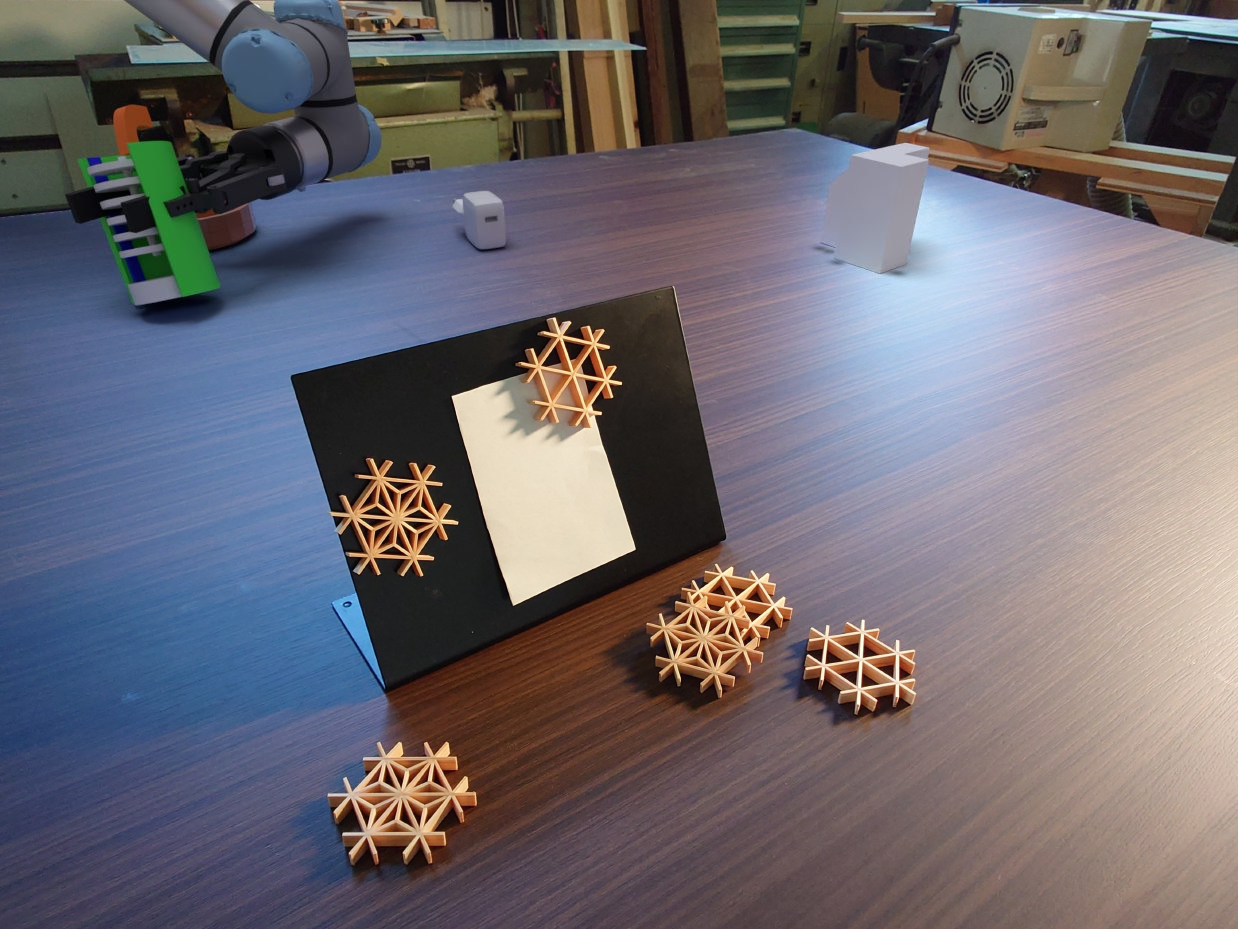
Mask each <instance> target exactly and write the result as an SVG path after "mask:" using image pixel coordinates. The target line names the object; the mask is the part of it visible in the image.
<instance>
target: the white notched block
mask: <svg viewBox="0 0 1238 929" xmlns="http://www.w3.org/2000/svg"><path fill="white" fill-rule="evenodd" d="M930 149H931V148H930V147H928V146H923V145H918V144H913V143H909V142H903V143H898V144H894V145H888V146H885V147H880V148H876V149H871V150H866V151H863V152H862V151H861V152H856V153H853V154H850V158H849V164H848V167H847V169H845V170H844V171H843V172H842V173H841V174H839V175H838V176H837V177H836V178H835V179H833V180H832V181H831V182H830V183H829V186H828V191H827V192H828V193H827V199H826V206H825V213H824V218H823V223H822V231H821V237H820V243H821V244H824V245H826V246H830V247H833V248H834V252H833V259H835V260H838V261H841V262H844V263H847V264H850V265H853V266H857V267H859V268H861V269H865V270H868V271H870V272H874V273H877V274H883V273H885V272H889V271H891V270H893V269H897V268H900V267H902V266H905V265H907V264H908V257H909V255H910V249H911V245H912V239H913V237H914V231H915V226H916V222H917V216H918V213H919V212H918V211H919V209H920V204H921V199H922V195H923V190H924V185H925V181H926V177H927V172H928V167H929V163H930V159H929V155H930V151H931V150H930Z"/></svg>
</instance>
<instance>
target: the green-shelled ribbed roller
mask: <svg viewBox="0 0 1238 929" xmlns="http://www.w3.org/2000/svg"><path fill="white" fill-rule="evenodd" d="M112 117H113V119H112V120H113V129H114V134H115V139H116V144H117V148H118V154H117V155H110V156H97V157H96V156H95V157H82V158H77V162H78V166H79V168H80V170H81V173H82V176H83V178H84V180H85V183H86V186H87V188H89V187H92V186H94V189H95V192H96V193H105V192H115V191H125V190H129V191H130V193H131V196H125V197H119V198H114V199H110V200H106V201H102V202H100V205H101V207H102V209H103V210H105V209H117V208H122V206H121V202H124V201H128V200H131V199H134V198H138V197H141V196H144V195H145V196H146V197H150V198H149V204H150V208H151V211H152V214H153V218H154V221H155V224H156V227H153V228H150V229H147V230H144V231H141V232H138V233H132V232H130V230H129V227H128V224H127V221H126V218H125V215H124V212H123V211H121V212H117V213H114V214H111V215H108V216H105V217H101V218H99V221H100V223H101V226H102V228H103V231H104V233H105V236H106V239H107V242H108V244H109V247H110V249H111V251H112V254H113V257H114V259H115V262H116V265H117V267H118V270H119V272H120V275H121V278H122V280H123V283H124V285H125V288H126V291H127V293H128V296H129V299H130V301H131V303H132V305H134V306H140V305H146V304H147V305H148V304H152V303H153V304H154V303H158V302H162V301H168V300H173V299H177V298H184V297H189V296H193V295H194V296H195V295H197V294H198V295H199V294H201V293H206V292H210V291H214V290H217V289H220V288H221V286H222V285H221V283H220V280H219V277H218V274H217V271H216V269H215V266H214V263H213V259H212V256H211V254H210V250H208V248H207V245H206V242H205V239H204V236H203V234H202V231H201V228H200V225H199V222H198V219H197V216H196V213H195V211H192V212H189V213H185V214H183V215H180V216H177V217H172V218H171V217H170V215H169V213H168V211H167V209H166V207H165V205H164V203H163V202H165V201H168V200H172V199H174V198H177V197H179V196H181V195H183V194H184V193H183V192H182V190H181V189H180V188H179V187H181V186H184V188H185V192H186V193H187V192H188V190H187V187H186V184H185V181H184V178H183V175H182V172H181V169H180V167H179V164H178V161H177V158H178V157H177V154H176V152H175V149H174V147H173V146H174V145H173V143H172V142H171V141H169V140H148V141H140V140H139V137H138V130H139V131H145V130H148V129H152V128H154V124H153V121H152V119H151V116H150V113H149V109H148V107H147V106H145V105H138V104H128V105H125V106H122V107H119V108H117V109H116V110H114V113H113V116H112ZM121 178H122V179H121Z"/></svg>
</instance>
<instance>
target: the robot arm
mask: <svg viewBox="0 0 1238 929" xmlns="http://www.w3.org/2000/svg"><path fill="white" fill-rule="evenodd" d="M123 1H124V2H126V3H127V4H128V5H130V6H131V7H132V8H134V9H135V10H137V11H138V12H139V13H140V14H142V15H143V16H145V17H146V18H148V19H149V20H150V21H152V22H153V23H154V24H156V25H157V26H158V27H160V28H161V29H163V30H164V31H165V32H167V33H168V34H170V35H171V36H172V37H174V38H175V39H177V40H178V41H179V42H180V43H182V44H184V45H185V46H186V47H187V48H188V49H190V50H191V51H193V52H194V53H196V54H197V55H198V56H200V57H202V58H203V59H204V60H205V61H207V62H208V63H210V65H212V66H214V67H215V68H216V69H218V70H219V71H221V73H222V75H223V79H224V81H225V83H226V84H227V87H228V88H229V90H230V92H231V93H232V94H233V96H234V97H235V99H237V101H238V102H239V103H241V104H242V105H243V106H245V107H247V108H249V110H252V111H256V112H257V113H260V114H268V115H269V114H272V115H273V114H279V113H282V112H287V111H291V110H293V111H294V115H295V116H291V117H285V118H283V119H280V120H273V121H271V122H266V123H264V124H263V125H257V126H253V127H249V128H245V129H241V130H239V131H237V132H235V133H234V134H233V135H232V136H231V138H230V139H229V140H228V141H229V142H228V144H227V147H226V150H219V151H213V152H210V153H209V154H208V155H205V156H204V155H203V156H199V157H196V156H195V154H194V153H185V154H183V155H180V156H178V157H176V158H177V161H178V164H179V167H180V169H181V172H182V175H183V178H184V181H185V184H186V187H187V190H188V192H187V193H186V192H185V188H184V186H181V187H179V188H180V189H181V190H182V192H183V193H184V194H183V195H181V196H179V197H177V198H174V199H172V200H168V201H165V202H163V203H164V205H165V207H166V209H167V211H168V213H169V215H170V217H171V218H172V217H177V216H180V215H183V214H185V213H189V212H192V211H195V213H199V214H203V213H206V212H207V211H209V210H211V209H213V212H214V213H215V214H223V213H225V212H228V211H230V210H233V209H235V208H238V207H240V206H242V205H245V204H247V203H250V202H251V203H252V202H255V201H257V200H262V201H271V200H274V199H276V198H280V197H283V196H285V195H287V194H290V193H292V192H293V191H298V192H300V193H302V192H306V190H307V187H308V186H311V185H315V184H316V183H319V182H323V181H324V180H328V179H331V178H334V177H338V176H340V175H344V174H347V173H352V172H356V171H357V170H358V169H360V168H363V167H364V166H366V165H367V164H369V163H372V162H373V161H374V160H375V159H376V158H377V157H378V155H379V153H380V150H381V147H382V139H383V138H382V133H381V132H382V131H381V128H380V125H378V123H377V121H376V120H375V116H374V115H373V113H372V112H371V111H370V110H368V108H366V107H365V106H363V105H361V104H359V100H358V97H357V92H356V86H355V80H354V73H353V67H352V60H351V52H350V47H349V40H348V36H349V32H348V29H347V26H346V23H345V18H344V15H343V10H342V5H341V4H340V2H339V1H338V0H274V2H273V6H272V7H273V14H274V18H273V17H272V15H270V14H268V13H267V12H265V10H263V9H262V8H260V7H259V6H257V5H256V4H255V3H253V2H252V1H251V0H123ZM121 179H122V178H121ZM64 196H65V199H66V201H67V204H68V206H69V210H70V212H71V215H72V218H73V220H74V222H75V224H80V225H82V224H85V223H89V222H92V221H94V220H98V219H100V218H101V217H105V216H108V215H111V214H114V213H117V212H121V211H123V212H124V215H125V218H126V221H127V224H128V227H129V230H130V232H132V233H138V232H141V231H144V230H147V229H150V228H153V227H156V224H155V221H154V218H153V214H152V211H151V208H150V204H149V198H150V197H146V196H145V195H144V196H141V197H138V198H134V199H131V200H128V201H124V202H121V206H122V208H117V209H105V210H103V209H102V207H101V205H100V202H102V201H106V200H110V199H114V198H119V197H125V196H131V193H130V191H129V190H125V191H115V192H105V193H96V192H95V189H94V186H92V187H89V188H88V187H86V188H82V189H77V190H75V191H71V192H68V193H67V192H66V193H65V194H64ZM224 201H226V202H225V203H224Z"/></svg>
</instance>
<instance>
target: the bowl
mask: <svg viewBox="0 0 1238 929" xmlns="http://www.w3.org/2000/svg"><path fill="white" fill-rule="evenodd" d="M225 202H226V201H224V203H225ZM196 216H197V219H198V222H199V225H200V228H201V231H202V234H203V236H204V239H205V242H206V245H207V248H208V251H212V250H216V249H221V248H225V247H227V246H232V245H234V244H236V243H238V242H241V241H243V240H244V239H246V238H248V236H250V235H252V234H253V233H254V232H255V230H256V228H257V227H258V226H257V225H258V224H257V220H256V216H255V212H254V207H253V204H252V202H250V203H247V204H245V205H242V206H240V207H238V208H235V209H233V210H230V211H228V212H225V213H223V214H215V213H214V212H213V209H211V210H209V211H207V212H206V213H203V214H199V213H196Z"/></svg>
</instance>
